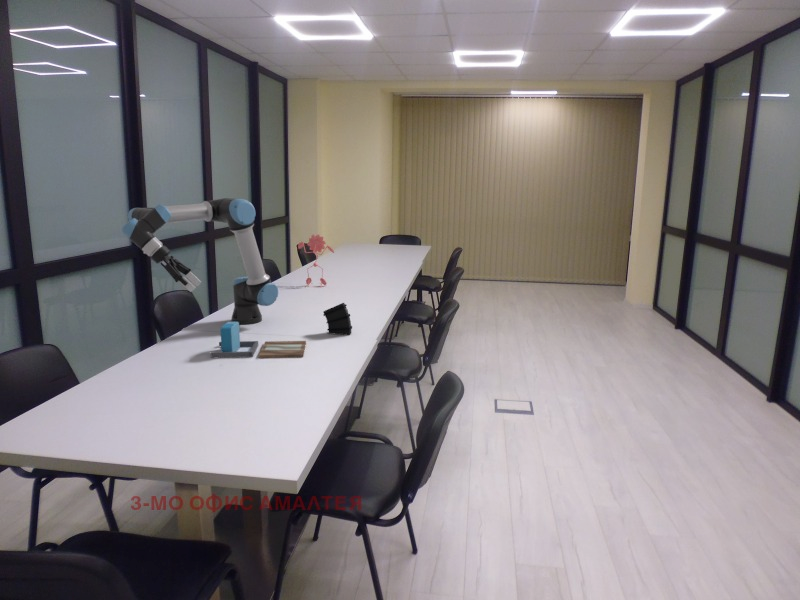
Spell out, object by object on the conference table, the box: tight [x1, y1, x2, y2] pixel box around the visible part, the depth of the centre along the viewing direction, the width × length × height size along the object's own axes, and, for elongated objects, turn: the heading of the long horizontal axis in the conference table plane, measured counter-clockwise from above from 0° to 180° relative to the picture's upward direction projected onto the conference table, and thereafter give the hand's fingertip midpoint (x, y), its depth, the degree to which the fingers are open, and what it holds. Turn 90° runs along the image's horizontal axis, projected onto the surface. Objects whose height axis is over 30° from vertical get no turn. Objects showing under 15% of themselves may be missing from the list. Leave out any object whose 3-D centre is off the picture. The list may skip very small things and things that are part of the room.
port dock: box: [258, 340, 307, 359], centre depth 246 cm, size 20×18×1 cm
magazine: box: [322, 302, 353, 336], centre depth 272 cm, size 4×13×15 cm, turn 76°
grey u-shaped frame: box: [210, 340, 259, 359], centre depth 244 cm, size 16×17×2 cm
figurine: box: [297, 234, 335, 287], centre depth 389 cm, size 15×26×35 cm, turn 80°
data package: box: [220, 321, 241, 352], centre depth 242 cm, size 12×4×12 cm, turn 0°
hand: (196, 287), depth 239 cm, fingers open, 13 cm apart
